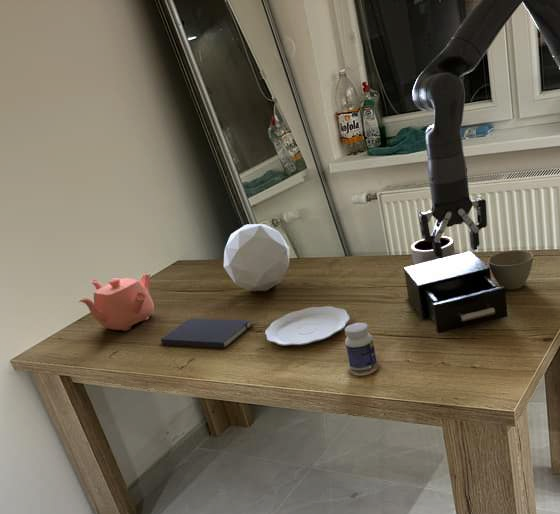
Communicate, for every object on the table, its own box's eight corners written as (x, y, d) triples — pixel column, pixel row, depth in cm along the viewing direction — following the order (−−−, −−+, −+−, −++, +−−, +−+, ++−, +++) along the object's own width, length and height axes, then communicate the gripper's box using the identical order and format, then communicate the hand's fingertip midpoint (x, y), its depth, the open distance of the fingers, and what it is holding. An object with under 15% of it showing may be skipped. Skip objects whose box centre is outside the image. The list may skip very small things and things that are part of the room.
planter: (408, 286, 177) (403, 251, 173) (425, 270, 184) (421, 236, 180) (448, 287, 171) (443, 251, 166) (464, 270, 178) (460, 235, 174)
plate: (253, 351, 163) (252, 345, 163) (284, 314, 180) (283, 308, 179) (335, 349, 155) (334, 342, 154) (360, 309, 171) (358, 303, 170)
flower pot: (534, 292, 157) (532, 263, 154) (489, 295, 161) (486, 267, 158) (535, 275, 165) (533, 247, 162) (492, 279, 169) (489, 252, 166)
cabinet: (493, 302, 157) (489, 268, 153) (422, 319, 158) (417, 285, 154) (473, 283, 169) (470, 251, 165) (408, 299, 170) (403, 267, 166)
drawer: (516, 325, 143) (514, 295, 140) (444, 342, 143) (440, 313, 140) (487, 297, 158) (484, 269, 155) (422, 312, 159) (418, 286, 156)
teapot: (93, 342, 194) (76, 298, 188) (105, 318, 211) (89, 276, 205) (154, 327, 193) (139, 282, 187) (161, 304, 210) (147, 262, 204)
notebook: (162, 344, 181) (225, 348, 169) (160, 339, 180) (223, 342, 169) (190, 323, 190) (252, 325, 178) (189, 318, 189) (250, 320, 178)
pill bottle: (381, 371, 140) (373, 328, 136) (354, 379, 140) (346, 336, 136) (373, 360, 145) (365, 318, 141) (348, 367, 145) (339, 326, 141)
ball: (252, 312, 205) (202, 268, 203) (291, 267, 212) (243, 223, 209) (271, 295, 187) (216, 246, 185) (313, 246, 194) (260, 198, 191)
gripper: (476, 164, 142) (483, 240, 149) (409, 181, 142) (419, 256, 150) (488, 171, 135) (496, 249, 142) (418, 188, 136) (429, 266, 143)
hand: (456, 252), depth 146 cm, fingers open, 7 cm apart
